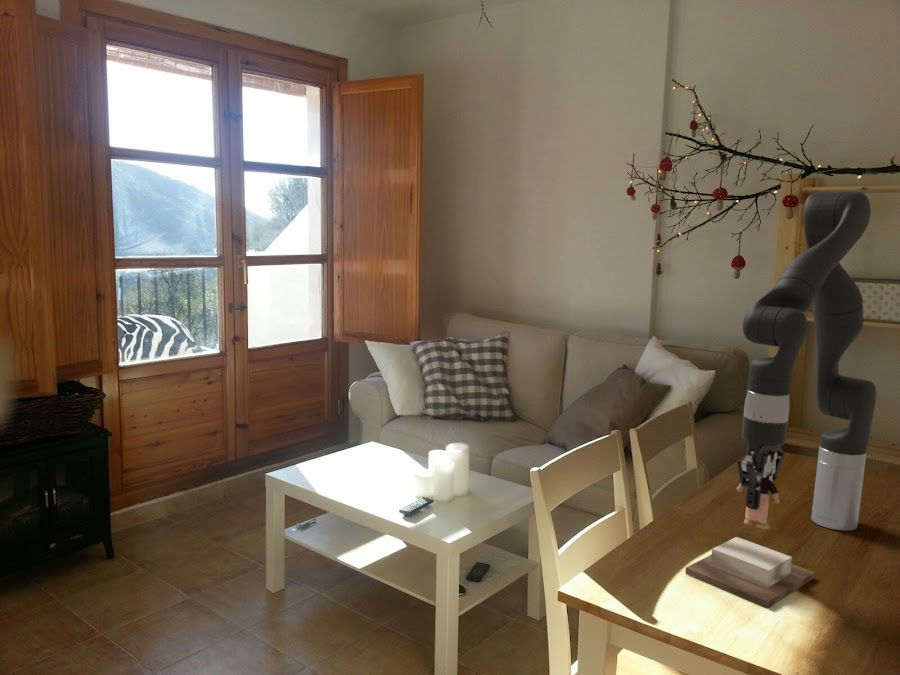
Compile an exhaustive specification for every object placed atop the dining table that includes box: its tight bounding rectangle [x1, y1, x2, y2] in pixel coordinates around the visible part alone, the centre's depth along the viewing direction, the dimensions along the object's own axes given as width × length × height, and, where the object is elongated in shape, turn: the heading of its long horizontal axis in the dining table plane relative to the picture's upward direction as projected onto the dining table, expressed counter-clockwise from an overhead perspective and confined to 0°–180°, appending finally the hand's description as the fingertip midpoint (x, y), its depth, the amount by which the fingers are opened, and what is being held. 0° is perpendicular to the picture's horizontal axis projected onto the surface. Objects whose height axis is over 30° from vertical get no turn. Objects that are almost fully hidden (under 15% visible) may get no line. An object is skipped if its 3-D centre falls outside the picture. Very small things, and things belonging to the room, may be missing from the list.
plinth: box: [684, 536, 815, 609], centre depth 139 cm, size 18×16×5 cm
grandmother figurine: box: [736, 461, 781, 530], centre depth 137 cm, size 8×4×13 cm, turn 61°
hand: (756, 505), depth 137 cm, fingers closed on grandmother figurine, 2 cm apart
